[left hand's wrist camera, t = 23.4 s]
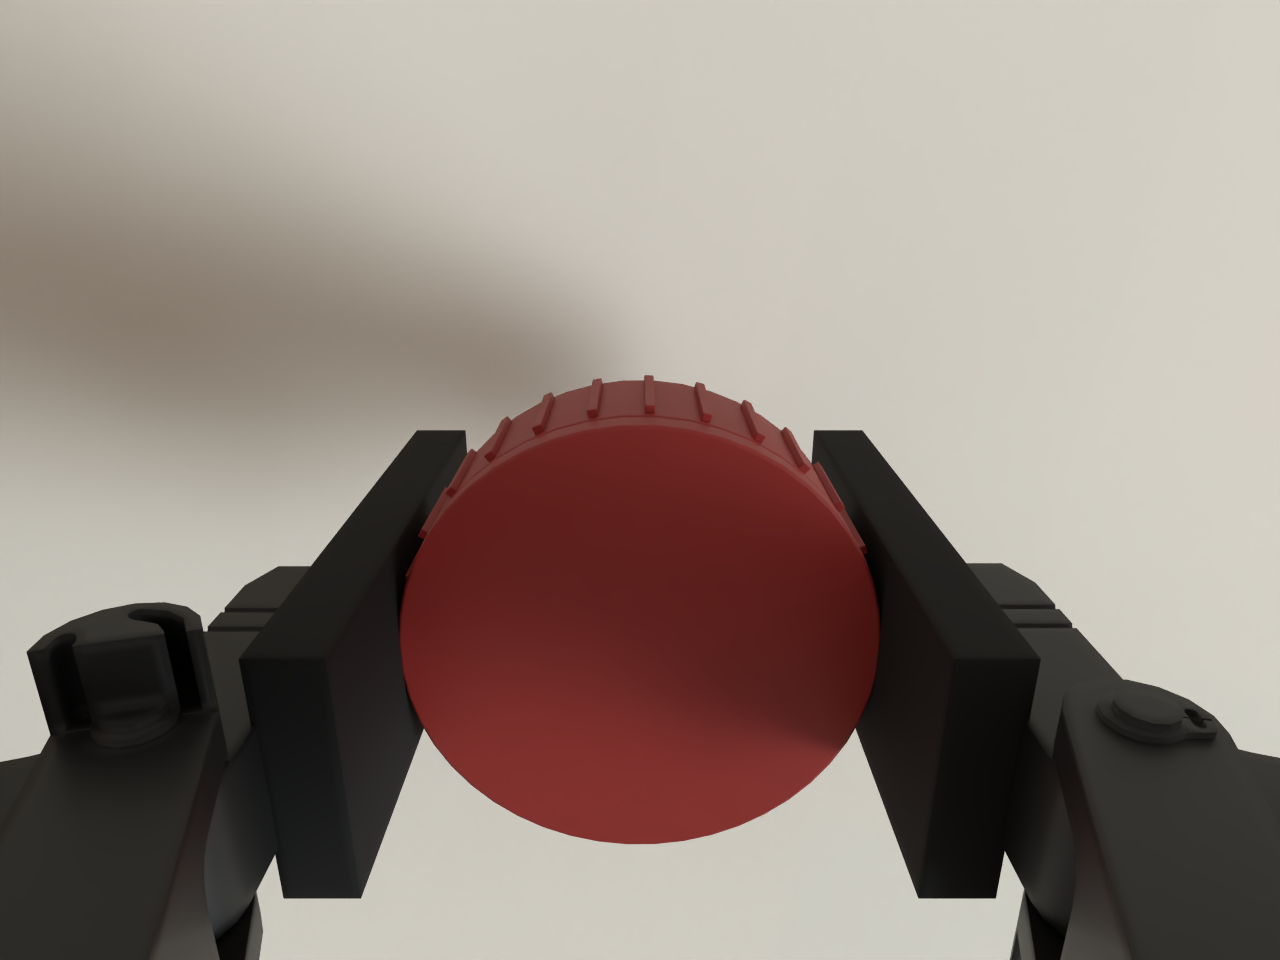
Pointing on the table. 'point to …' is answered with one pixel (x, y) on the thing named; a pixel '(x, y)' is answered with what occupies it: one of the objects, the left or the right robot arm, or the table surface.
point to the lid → (639, 615)
